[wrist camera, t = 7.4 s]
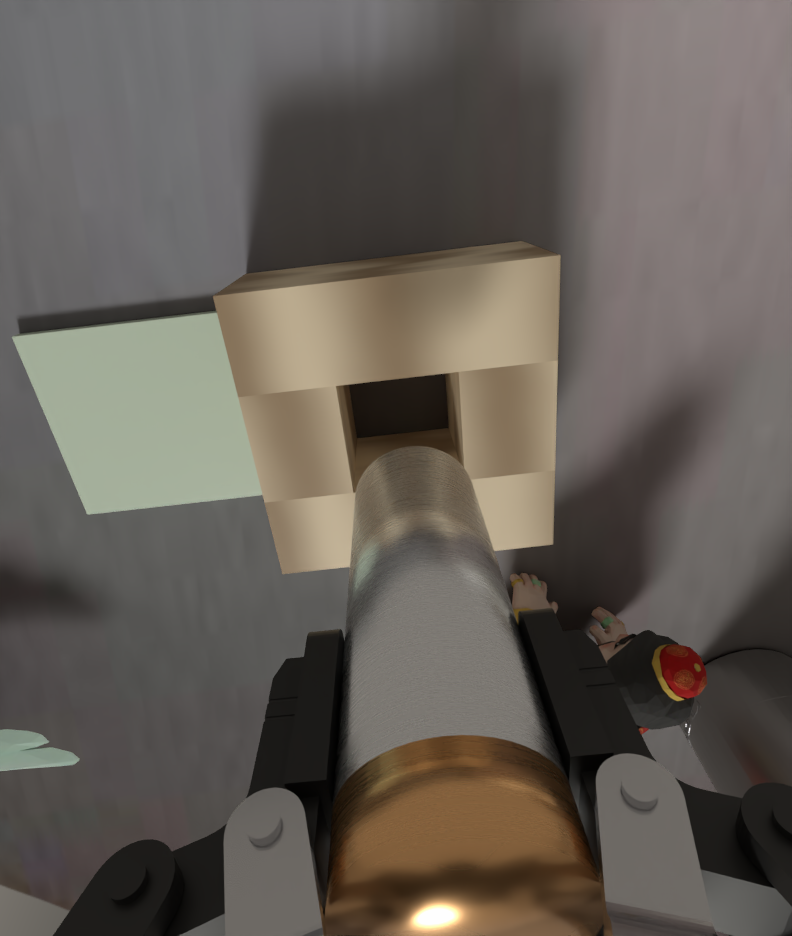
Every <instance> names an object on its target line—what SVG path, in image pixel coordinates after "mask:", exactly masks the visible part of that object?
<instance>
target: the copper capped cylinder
mask: <svg viewBox="0 0 792 936" xmlns="http://www.w3.org/2000/svg"><path fill="white" fill-rule="evenodd" d="M324 921H325V927H326V934H327V936H596V935H597V934H598V932H599V931H600V929H601V927H602V925H603V910H602V897H601V885H600V876H599V873H598V870H597V867H596V864H595V861H594V857H593V854H592V851H591V848H590V845H589V842H588V839H587V836H586V833H585V830H584V827H583V824H582V820H581V817H580V814H579V811H578V808H577V805H576V802H575V799H574V796H573V793H572V790H571V786H570V783H569V780H568V777H567V774H566V771H565V768H564V765H563V762H562V759H561V756H560V753H559V749H558V746H557V743H556V740H555V737H554V734H553V731H552V728H551V725H550V722H549V719H548V716H547V712H546V709H545V706H544V703H543V700H542V697H541V694H540V691H539V688H538V685H537V682H536V679H535V675H534V672H533V669H532V666H531V663H530V660H529V657H528V654H527V651H526V648H525V645H524V641H523V638H522V635H521V632H520V629H519V626H518V623H517V620H516V617H515V614H514V611H513V608H512V604H511V601H510V598H509V595H508V592H507V589H506V586H505V583H504V580H503V577H502V574H501V571H500V567H499V564H498V561H497V558H496V555H495V552H494V549H493V546H492V543H491V540H490V537H489V534H488V530H487V527H486V524H485V521H484V518H483V515H482V512H481V509H480V506H479V503H478V500H477V497H476V493H475V490H474V487H473V484H472V481H471V479H470V477H469V474H468V473H467V471H466V470H465V468H464V467H463V466H462V465H461V464H460V463H459V462H458V461H457V460H456V459H455V458H453V457H452V456H450V455H449V454H447V453H445V452H443V451H441V450H437V449H434V448H430V447H424V446H408V447H403V448H398V449H395V450H392V451H390V452H388V453H385V454H384V455H382V456H380V457H379V458H377V459H376V460H375V461H373V462H372V463H371V464H370V465H369V466H368V467H367V469H366V470H365V471H364V473H363V474H362V476H361V478H360V480H359V482H358V485H357V488H356V493H355V505H354V519H353V532H352V546H351V560H350V574H349V587H348V601H347V615H346V629H345V642H344V656H343V670H342V684H341V697H340V711H339V725H338V739H337V752H336V766H335V780H334V794H333V807H332V821H331V835H330V849H329V862H328V876H327V890H326V904H325V918H324Z"/></svg>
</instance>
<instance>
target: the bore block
mask: <svg viewBox="0 0 792 936" xmlns="http://www.w3.org/2000/svg"><path fill="white" fill-rule="evenodd" d="M560 259H561V255H559V254H556V253H553V252H551V251H548V250H545V249H543V248H540V247H537V246H534V245H532V244H529V243H526V242H523V241H517V242H509V243H501V244H492V245H484V246H475V247H467V248H459V249H450V250H442V251H433V252H425V253H417V254H408V255H400V256H391V257H383V258H374V259H366V260H358V261H349V262H341V263H332V264H324V265H316V266H307V267H299V268H290V269H282V270H274V271H265V272H257V273H248V274H245V275H243V276H242V277H240V278H239V279H238V280H236V281H235V282H233V283H232V284H230V285H229V286H227V287H226V288H224V289H223V290H221V291H220V292H218V293H217V294H215V295H214V296H213V299H214V303H215V307H216V311H217V315H218V319H219V323H220V327H221V331H222V335H223V339H224V343H225V347H226V351H227V355H228V359H229V363H230V367H231V371H232V375H233V379H234V383H235V387H236V391H237V395H238V399H239V403H240V407H241V411H242V415H243V419H244V423H245V427H246V431H247V435H248V439H249V443H250V446H251V450H252V454H253V458H254V462H255V466H256V470H257V474H258V478H259V482H260V486H261V490H262V494H263V498H264V502H265V506H266V510H267V514H268V518H269V522H270V526H271V530H272V534H273V538H274V542H275V546H276V550H277V554H278V558H279V562H280V566H281V570H282V574H288V573H297V572H306V571H315V570H324V569H334V568H343V567H350V560H351V546H352V532H353V519H354V505H355V493H356V488H357V485H358V482H359V480H360V478H361V476H362V474H363V473H364V471H365V470H366V469H367V467H368V466H369V465H370V464H371V463H372V462H373V461H375V460H376V459H377V458H379V457H380V456H382V455H384V454H385V453H388V452H390V451H392V450H395V449H398V448H403V447H408V446H424V447H430V448H434V449H437V450H441V451H443V452H445V453H447V454H449V455H450V456H452V457H453V458H455V459H456V460H457V461H458V462H459V463H460V464H461V465H462V466H463V467H464V468H465V470H466V471H467V473H468V474H469V477H470V479H471V481H472V484H473V487H474V490H475V493H476V497H477V500H478V503H479V506H480V509H481V512H482V515H483V518H484V521H485V524H486V527H487V530H488V534H489V537H490V540H491V543H492V546H493V549H494V551H498V550H508V549H517V548H526V547H535V546H544V545H553V527H554V489H555V450H556V412H557V374H558V335H559V297H560ZM436 374H445V380H446V394H447V409H448V423H449V428H444V429H435V430H426V431H417V432H408V433H400V434H391V435H382V436H373V437H364V438H357V434H356V428H355V421H354V415H353V408H352V402H351V395H350V389H349V384H358V383H367V382H375V381H384V380H393V379H401V378H410V377H419V376H427V375H436Z"/></svg>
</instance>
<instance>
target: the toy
mask: <svg viewBox="0 0 792 936" xmlns="http://www.w3.org/2000/svg"><path fill="white" fill-rule="evenodd" d="M48 742H49V741H48V740H47V739H46V738H45V737H44V736H43V735H42V734H38V733H34V732H30V731H22V730H9V729H4V730H0V771H6V770H14V769H27V768H40V767H54V766H66V765H74V764H75V763H77V762H78V761H79V760H80V759H79V758H78V757H77V756H75V755H74V754H73V753H72V752H68V751H64V750H60V749H56V748H52V747H48V748H34V747H38V746H40V745H43V744H45V743H48Z"/></svg>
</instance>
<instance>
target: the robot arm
mask: <svg viewBox="0 0 792 936" xmlns="http://www.w3.org/2000/svg"><path fill="white" fill-rule="evenodd" d="M518 626H519V629H520V632H521V635H522V638H523V641H524V645H525V648H526V651H527V654H528V657H529V660H530V663H531V666H532V669H533V672H534V675H535V679H536V682H537V685H538V688H539V691H540V694H541V697H542V700H543V703H544V706H545V709H546V712H547V716H548V719H549V722H550V725H551V728H552V731H553V734H554V737H555V740H556V743H557V746H558V749H559V753H560V756H561V759H562V762H563V765H564V768H565V771H566V774H567V777H568V780H569V783H570V786H571V790H572V793H573V796H574V799H575V802H576V805H577V808H578V811H579V814H580V817H581V820H582V824H583V827H584V830H585V833H586V836H587V839H588V842H589V845H590V848H591V851H592V854H593V857H594V861H595V864H596V867H597V870H598V873H599V876H600V885H601V897H602V910H603V925H602V927H601V929H600V931H599V932H598V934H597V935H596V936H717V934H716V932H715V931H718V932H722V933H725V934H728V935H729V936H792V658H791V657H789V656H787V655H785V654H783V653H780V652H776V651H772V650H761V649H755V650H745V651H740V652H736V653H732V654H728V655H725V656H723V657H720V658H718V659H715V660H713V661H712V662H710V663H708V664H706V665H705V666H704V667H705V670H706V675H707V685H706V686H705V688H704V689H703V691H702V692H701V693H700V694H699V695H697V696H695V697H694V704H693V707H692V710H691V713H690V716H689V718H688V719H687V720H686V721H684V722H683V723H682V724H681V725H680V727H681V729H682V730H683V732H684V734H685V736H686V738H687V740H688V742H689V744H690V746H691V748H693V750H694V752H695V753H696V755H697V757H698V759H699V760H700V762H701V764H702V766H703V767H704V770H705V771H706V773H707V775H708V777H709V778H710V780H711V782H712V784H713V785H714V787H715V789H716V791H717V792H718V793H716V792H711V791H707V790H702V789H699V788H695V787H693V786H690V785H688V784H685V783H683V782H682V781H680V780H678V779H676V778H675V777H674V776H673V775H672V774H671V773H670V772H669V771H668V770H667V769H666V768H664V767H663V766H662V765H660V764H659V763H657V762H656V760H655V759H654V758H653V756H652V755H651V753H650V752H649V750H648V748H647V746H646V744H645V742H644V740H643V737H642V735H641V733H640V731H639V729H638V727H637V725H636V723H635V721H634V719H633V717H632V715H631V713H630V711H629V709H628V706H627V704H626V702H625V700H624V698H623V696H622V694H621V692H620V690H619V688H618V687H617V686H616V682H615V680H614V677H613V675H612V673H611V671H610V670H609V669H608V665H607V663H606V661H605V659H604V657H603V655H602V653H601V651H600V648H599V646H598V645H597V644H596V643H595V642H594V641H592V640H591V639H590V638H589V637H588V636H587V635H586V634H585V633H584V632H583V631H582V630H580V629H579V630H569V631H563V630H562V628H561V626H560V623H559V621H558V618H557V616H556V614H555V611H554V610H553V609H552V608H546V609H536V610H526V611H519V613H518ZM343 656H344V637H343V633H342V630H341V629H337V630H328V631H318V632H309V633H308V636H307V641H306V647H305V654H304V657H300V658H290V659H286V660H285V662H284V663H283V665H282V666H281V668H280V669H279V670H278V672H277V673H276V675H275V676H274V678H273V682H272V686H271V691H270V696H269V704H268V705H267V710H266V715H265V722H264V724H263V729H262V733H261V738H260V743H259V747H258V752H257V757H256V761H255V766H254V771H253V776H252V780H251V785H250V789H249V792H248V795H247V797H246V799H245V800H244V801H243V802H242V803H241V804H240V805H239V806H238V807H237V808H236V809H235V811H234V812H233V813H232V815H231V817H230V819H229V820H228V823H227V824H226V825H225V826H223V827H222V828H221V829H219V830H218V831H216V832H215V833H213V834H211V835H209V836H207V837H205V838H202V839H200V840H198V841H195V842H193V843H191V844H189V845H186V846H184V847H182V848H179V849H177V850H175V851H171V850H170V849H169V847H168V846H167V845H165V844H164V843H162V842H160V841H158V840H141V841H137V842H134V843H132V844H129V845H128V846H126V847H124V848H122V849H121V850H119V851H118V852H116V853H115V854H114V855H113V856H111V857H110V858H109V859H108V860H107V861H106V862H105V863H104V864H103V865H102V866H101V868H100V869H99V870H98V872H97V873H96V874H95V876H94V877H93V879H92V880H91V881H90V883H89V884H88V886H87V887H86V889H85V890H84V892H83V893H82V894H81V896H80V897H79V899H78V900H77V902H76V903H75V905H74V906H73V907H72V909H71V910H70V912H69V913H68V915H67V916H66V918H65V919H64V921H63V922H62V923H61V925H60V927H59V928H58V929H57V931H56V932H55V934H54V935H53V936H327V934H326V927H325V921H324V918H325V904H326V890H327V876H328V862H329V849H330V835H331V821H332V807H333V794H334V780H335V766H336V752H337V739H338V725H339V711H340V697H341V684H342V670H343Z"/></svg>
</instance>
